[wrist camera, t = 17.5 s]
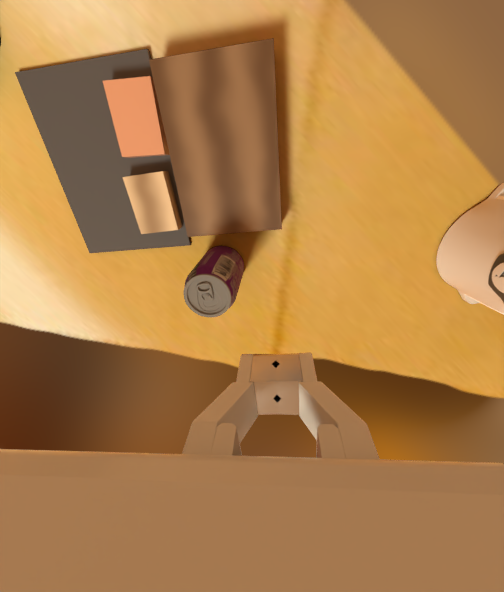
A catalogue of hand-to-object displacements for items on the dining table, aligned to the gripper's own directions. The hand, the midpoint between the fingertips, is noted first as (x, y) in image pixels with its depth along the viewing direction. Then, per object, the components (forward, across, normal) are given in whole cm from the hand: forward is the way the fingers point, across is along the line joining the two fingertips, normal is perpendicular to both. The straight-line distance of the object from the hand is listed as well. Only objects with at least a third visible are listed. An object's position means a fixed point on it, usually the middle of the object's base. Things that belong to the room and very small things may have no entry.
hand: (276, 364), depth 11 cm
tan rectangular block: (+30, +18, -5) cm, 35 cm away
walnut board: (+31, +6, -10) cm, 33 cm away
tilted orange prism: (+30, +17, -15) cm, 38 cm away
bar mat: (+31, +23, -10) cm, 40 cm away
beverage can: (+31, +9, +6) cm, 33 cm away
